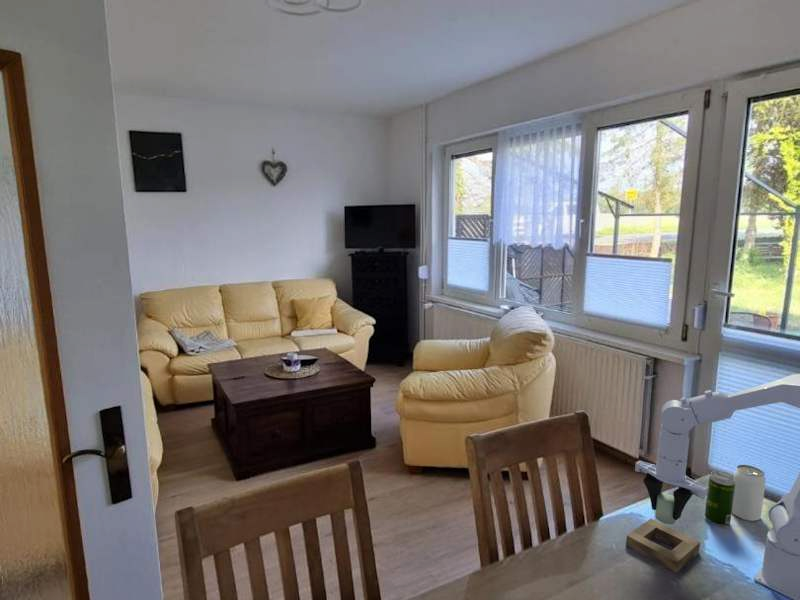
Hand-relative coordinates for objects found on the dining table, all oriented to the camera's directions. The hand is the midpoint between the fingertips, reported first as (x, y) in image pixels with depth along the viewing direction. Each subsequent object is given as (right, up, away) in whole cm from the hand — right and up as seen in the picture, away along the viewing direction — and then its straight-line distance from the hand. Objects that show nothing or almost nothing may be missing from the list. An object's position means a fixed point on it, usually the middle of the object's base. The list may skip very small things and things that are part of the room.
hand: (665, 513), depth 110 cm
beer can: (+19, -7, +12) cm, 24 cm away
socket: (0, -9, +1) cm, 9 cm away
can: (+28, -7, +15) cm, 33 cm away
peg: (0, -1, 0) cm, 1 cm away
